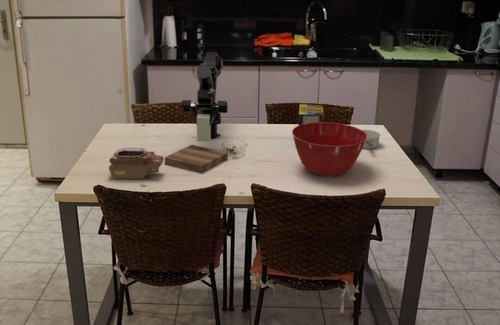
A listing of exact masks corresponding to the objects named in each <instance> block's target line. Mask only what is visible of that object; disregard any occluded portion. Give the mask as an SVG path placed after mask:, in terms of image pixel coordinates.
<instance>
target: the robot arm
mask: <svg viewBox="0 0 500 325" xmlns="http://www.w3.org/2000/svg"><path fill="white" fill-rule="evenodd" d="M223 62H224V61H223V57H222V56H220V55H219V54H218V52H216V51H215V52H212V51H207V52H206V54H205V56H204V57H203V62H202V63H200V64H199V66H198V68H197V71H196V76H197V80H198V90H197V92H196V93H197V94H196V95H197V96H196V99H197V101H196V102H197V103H196V102H192V100H191V99H182V100H181V103H180V107H181V109H182V112H183V113H190V114H191V115H193V118H194V121H195V124H196V126H197V116H198V109H201V110H200V111H199V112H200V113H199V114H210V126H211V138H210V140H212V139H215V138H217V137H220V136H221V134H220V133H218V125H220V124H222V116H221V114H227V113H228V111H229V108H228V107H229V106H228V101H227V100H217V86H218V77H219V76H221V74H222V70H223V69H224V66H223V65H224V63H223ZM216 100H217V103H216Z"/></svg>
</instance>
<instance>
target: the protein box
mask: <svg viewBox="0 0 500 325" xmlns="http://www.w3.org/2000/svg"><path fill="white" fill-rule="evenodd" d="M315 122H324V106H323V105H321V104H299V109H298V125H297V126H299V125H302V124H306V123H315Z"/></svg>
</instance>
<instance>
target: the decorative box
mask: <svg viewBox="0 0 500 325" xmlns="http://www.w3.org/2000/svg"><path fill="white" fill-rule="evenodd" d="M164 161H165V158H164V155H161V154H160V155H159V154H158V155H157V154H155V152H154V151H148V150H147V149H145V148H142V147H122V148H118V149H117V150H116V151H115V152H114V153H113V156H111V157H110V158H109V163H110V165H108V170H109V173H110V175H111V178H112V179H144V178H145V177H146V176H147V175H151V174H152V175H154V174H157V173H160V171H159V169H160V168H161V166H162V164H163V163H164Z"/></svg>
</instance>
